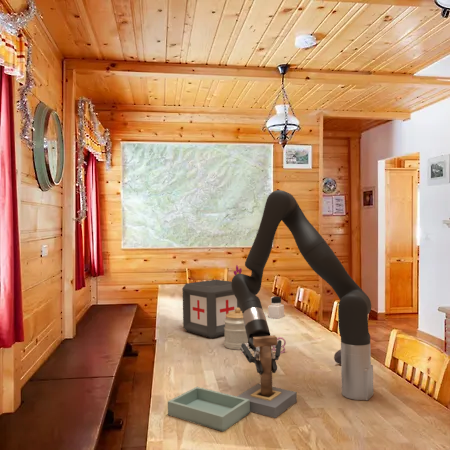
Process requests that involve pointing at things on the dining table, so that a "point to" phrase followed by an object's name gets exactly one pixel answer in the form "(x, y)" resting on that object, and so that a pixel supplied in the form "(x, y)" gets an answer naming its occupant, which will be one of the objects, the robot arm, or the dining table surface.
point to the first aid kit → (207, 307)
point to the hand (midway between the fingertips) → (268, 372)
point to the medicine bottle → (276, 308)
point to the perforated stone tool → (338, 357)
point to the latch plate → (269, 400)
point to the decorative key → (274, 347)
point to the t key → (265, 362)
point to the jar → (234, 330)
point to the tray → (209, 408)
